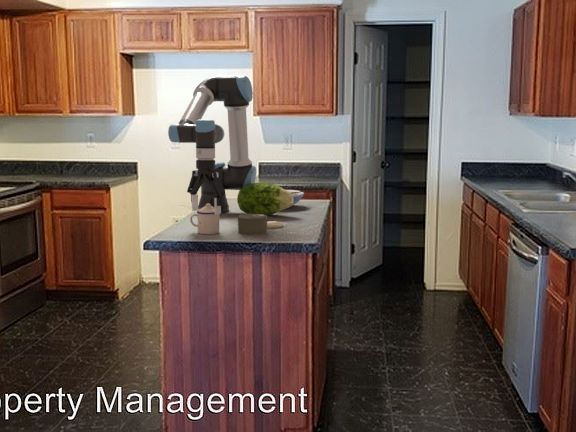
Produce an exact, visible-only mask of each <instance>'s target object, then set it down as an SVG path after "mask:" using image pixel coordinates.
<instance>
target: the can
mask: <svg viewBox="0 0 576 432" xmlns="http://www.w3.org/2000/svg"><path fill="white" fill-rule="evenodd" d="M267 221H268V215H264V214H247V213H241V214H238V215H237V229H238V231H237V234H239V235H242V236H262V234H263V235H266V234H267V233H268V228H267Z"/></svg>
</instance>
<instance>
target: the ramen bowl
mask: <svg viewBox="0 0 576 432" xmlns="http://www.w3.org/2000/svg"><path fill="white" fill-rule="evenodd" d="M286 190H287V191H289V192H290V193H291V194H292V195H293V199H294V200H293V204H292V205H291V206H294V205H296V204H298V203H299V202H300V200H301V199H302V198H303V196H305V195H304V194H305V192H307V190H304V191H303V190H295V189H286Z"/></svg>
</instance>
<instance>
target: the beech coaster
mask: <svg viewBox="0 0 576 432" xmlns="http://www.w3.org/2000/svg"><path fill="white" fill-rule="evenodd" d="M283 225H284V224H283V222H281V221H277V220H276V221H275V220H273V221H272V220H267V229H279V228H280V229H281V228H282V227H283Z"/></svg>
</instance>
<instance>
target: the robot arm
mask: <svg viewBox="0 0 576 432" xmlns="http://www.w3.org/2000/svg"><path fill="white" fill-rule="evenodd" d="M252 85H253V84H252V83H251V80H250V78H249V77H248V76H247V75H240V74H237V75H235V74H234V75H233V74H230V75H229V74H227V75H218V74H217V75H213V76H210V77H208V78H205V79H204V80H203V81H202V82H200V83H199V84H198V85H197V86H196V87H195V89H194V90H193V94H192V96H193V97H192V99H191V101H190V102H189V104H188V106H187V108H186V110H185V112H184V113H183V115H182V116H181V118H180V120H179V122H178V123H174V124H173V123H172V124H170V125H169V127H168V133H167V136H168V139H169V141H170V142H171V143H178V144H182V143H184V144H185V143H186V144H188V143H189V144H190V143H191V144H194V143H195V158H196V160H195V168H196V170H192V171H191V178H190V182H189V184H188V187H187V190H186V192H187V193H189V194H190V201H191V211H192V212H194V211H196V212H197V210H198V209H201V208H203V207H205V206H206V204H211V206H212V207H214V208H215V214H219V215H221V213H225V212H226V213H227V212H229V211H230V205H229V202H228V198H227V196H226V195H227V194H226V190H231V191H239V190H241V189H242V188H243V187H244V186H246V185H249V184H253V183H256V179H257V178H256V177H257V168H256V165H253V161H252V160H251V159H250V158H249V141H248V122H247V121H248V120H247V108H249V106H250V102H252V101H253V97H254V96H253V93H254V92H253V86H252ZM214 102H223V107H224V108H226V109H227V123H228V138H229V141H228V142H229V156H230V159H229V161H228V162H227V165H226V163H225V162H224V161H223V162H222V161H220V162H216V160H215V159H216V144H218V143H220V142H222V141H223V140H224V137H225V130H224V128H223V127H222V126H221V125H219V124H215V122H216V121H215V120H214V119H203V116H204V115H205V113H206V112H207V109H208V108H209V106H210V105H212V104H213V103H214ZM199 190H200V194H201V195H200V198H199V194H198V192H199Z"/></svg>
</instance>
